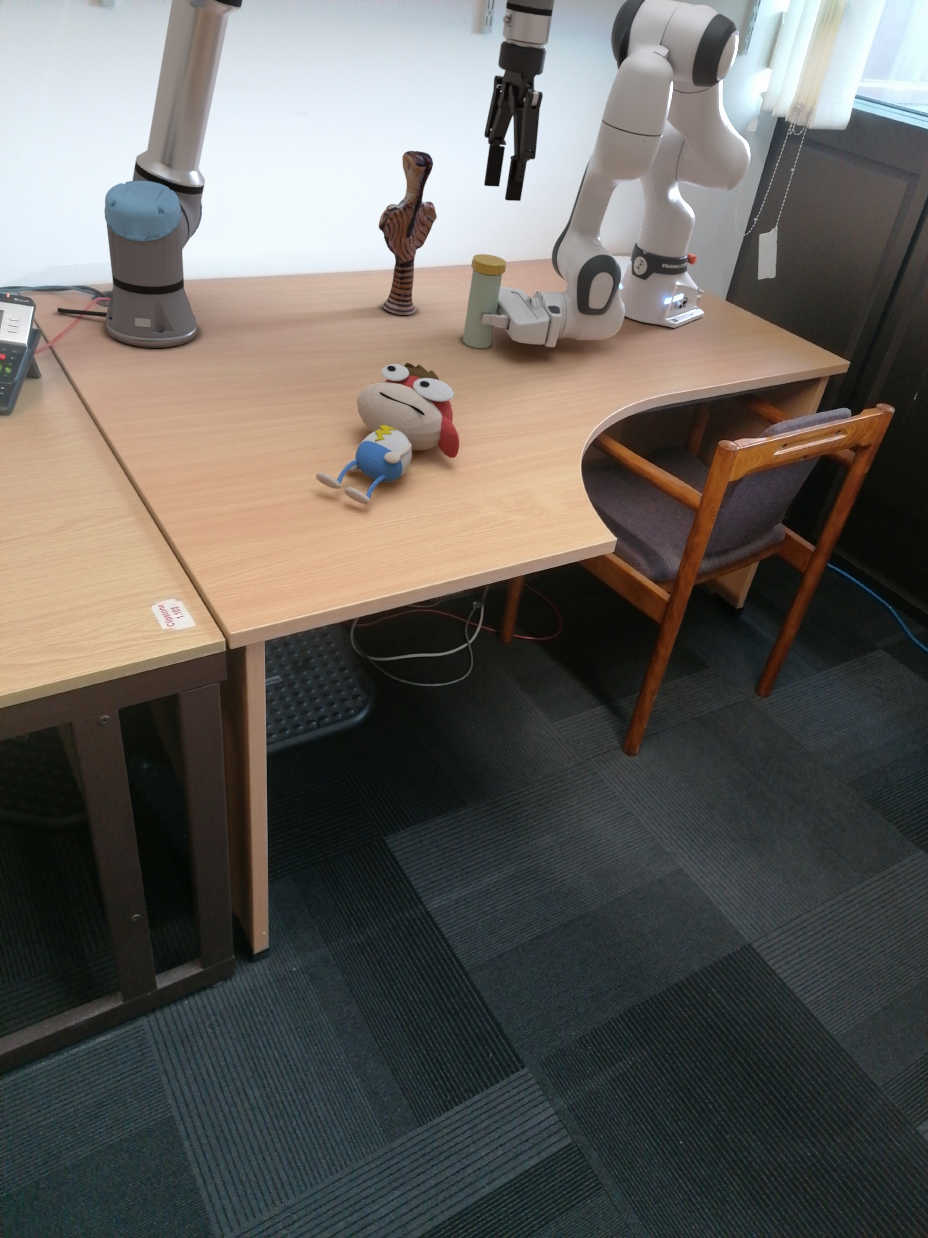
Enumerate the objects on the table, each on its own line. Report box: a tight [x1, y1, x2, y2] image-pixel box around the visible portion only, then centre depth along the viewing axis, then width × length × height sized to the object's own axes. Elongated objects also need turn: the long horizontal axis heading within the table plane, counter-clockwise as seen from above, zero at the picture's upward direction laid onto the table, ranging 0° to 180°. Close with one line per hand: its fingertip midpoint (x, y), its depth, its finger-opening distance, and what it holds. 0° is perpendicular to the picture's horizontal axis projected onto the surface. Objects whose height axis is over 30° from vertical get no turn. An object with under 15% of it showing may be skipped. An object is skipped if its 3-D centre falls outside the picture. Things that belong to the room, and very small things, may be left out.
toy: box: [315, 362, 460, 505], centre depth 132 cm, size 18×10×30 cm
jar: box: [462, 268, 503, 349], centre depth 171 cm, size 6×6×16 cm
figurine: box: [378, 150, 438, 316], centre depth 174 cm, size 15×8×30 cm, turn 144°
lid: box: [470, 253, 507, 275], centre depth 166 cm, size 6×6×2 cm
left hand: (501, 192), depth 158 cm, fingers open, 8 cm apart
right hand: (477, 311), depth 172 cm, fingers closed on jar, 5 cm apart
